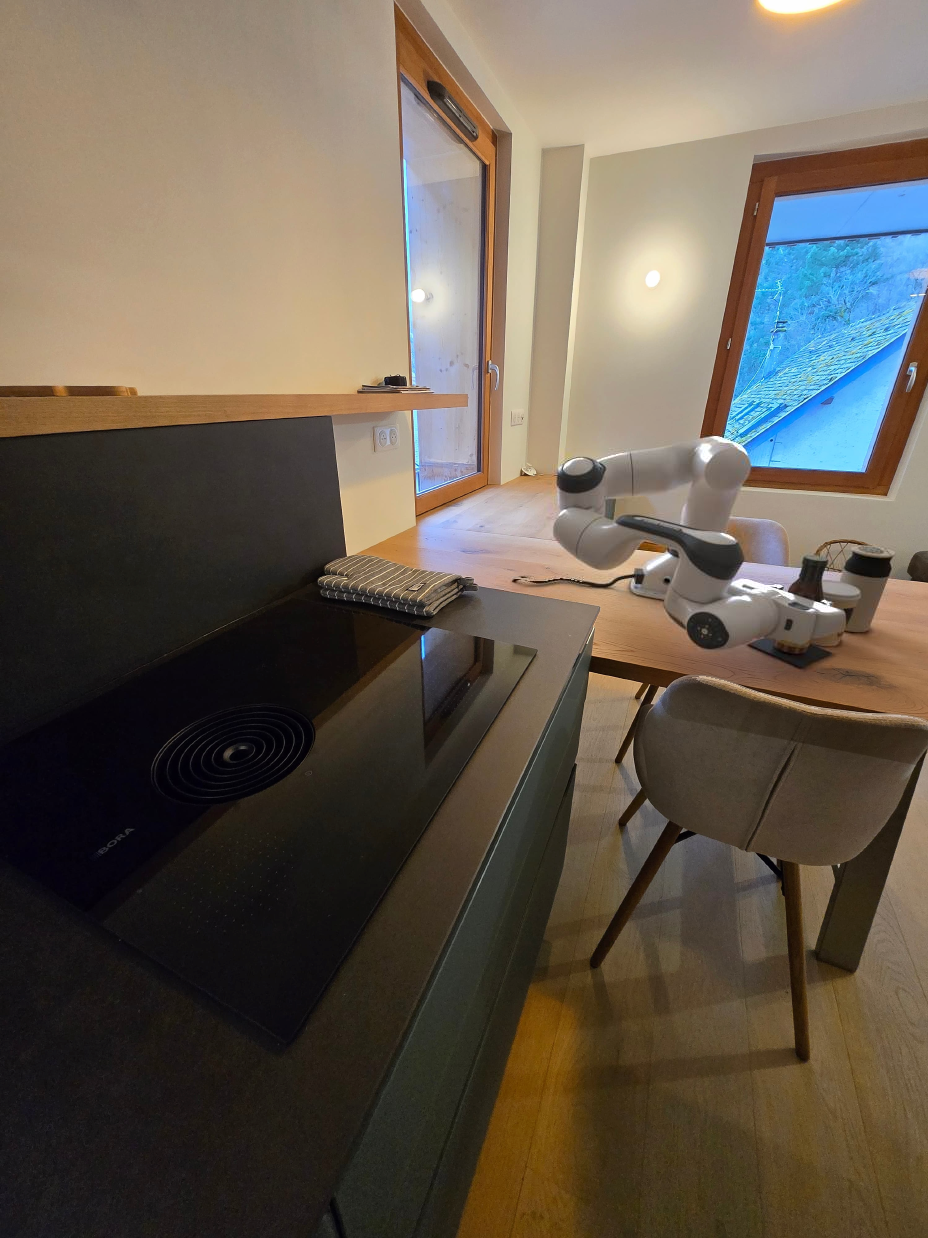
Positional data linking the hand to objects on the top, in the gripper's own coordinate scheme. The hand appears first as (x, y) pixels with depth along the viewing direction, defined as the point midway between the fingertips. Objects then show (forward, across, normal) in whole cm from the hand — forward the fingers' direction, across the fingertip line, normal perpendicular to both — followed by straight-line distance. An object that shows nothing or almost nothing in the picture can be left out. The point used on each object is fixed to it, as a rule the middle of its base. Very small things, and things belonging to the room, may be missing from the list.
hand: (803, 596), depth 98 cm
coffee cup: (+11, 0, -13) cm, 17 cm away
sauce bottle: (+1, 0, -12) cm, 12 cm away
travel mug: (+23, 0, -12) cm, 26 cm away
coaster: (+1, 0, -12) cm, 12 cm away
